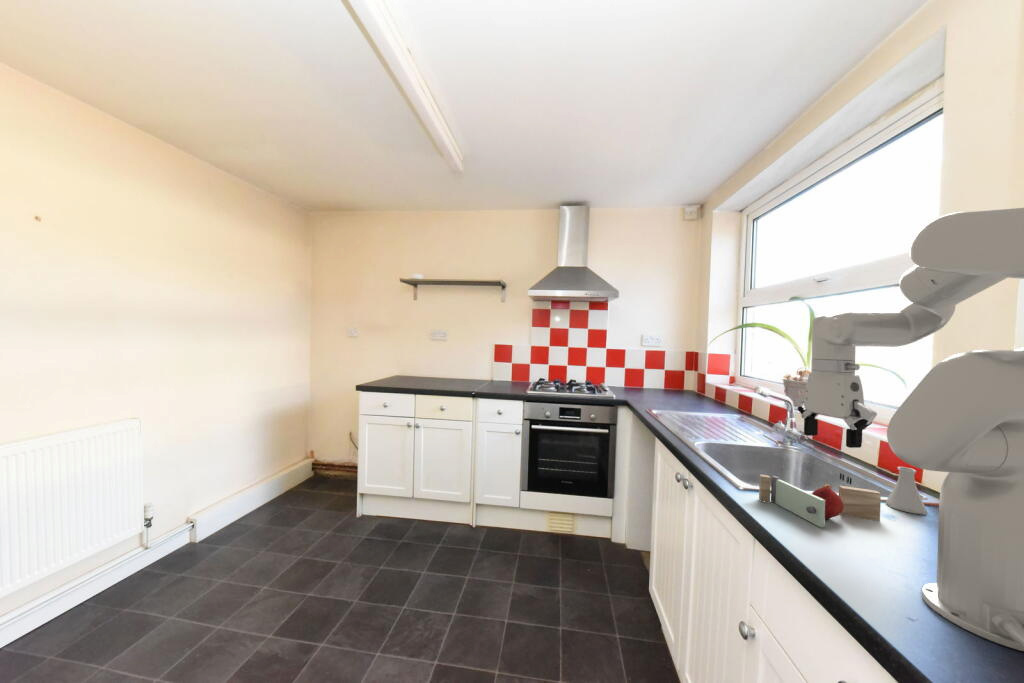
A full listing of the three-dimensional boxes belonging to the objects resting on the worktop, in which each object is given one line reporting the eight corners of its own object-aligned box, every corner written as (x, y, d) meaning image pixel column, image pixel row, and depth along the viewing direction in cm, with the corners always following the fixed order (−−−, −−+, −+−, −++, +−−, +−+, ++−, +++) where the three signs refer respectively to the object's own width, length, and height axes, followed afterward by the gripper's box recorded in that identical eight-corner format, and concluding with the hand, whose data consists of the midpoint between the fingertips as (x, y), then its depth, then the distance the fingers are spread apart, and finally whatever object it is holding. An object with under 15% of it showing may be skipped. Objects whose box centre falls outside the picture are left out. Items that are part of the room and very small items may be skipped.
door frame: (879, 521, 82) (880, 493, 82) (760, 501, 91) (761, 476, 91) (876, 518, 83) (876, 490, 83) (759, 498, 92) (759, 474, 92)
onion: (830, 526, 79) (831, 490, 79) (803, 513, 85) (804, 480, 85) (849, 523, 81) (850, 488, 80) (821, 511, 86) (822, 478, 86)
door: (816, 527, 78) (817, 499, 78) (766, 500, 91) (767, 476, 91) (825, 527, 78) (826, 498, 78) (774, 500, 91) (775, 475, 91)
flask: (932, 518, 84) (933, 476, 84) (888, 509, 88) (889, 469, 88) (922, 507, 89) (923, 468, 89) (881, 499, 94) (882, 461, 94)
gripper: (890, 370, 74) (888, 452, 74) (810, 365, 91) (809, 431, 91) (859, 370, 73) (858, 453, 73) (784, 364, 90) (783, 431, 90)
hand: (830, 440), depth 82 cm, fingers open, 9 cm apart
